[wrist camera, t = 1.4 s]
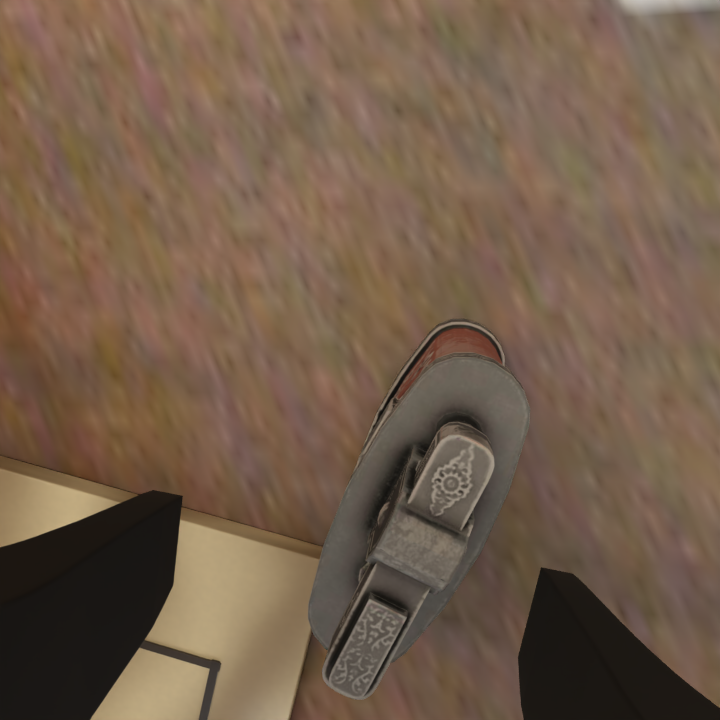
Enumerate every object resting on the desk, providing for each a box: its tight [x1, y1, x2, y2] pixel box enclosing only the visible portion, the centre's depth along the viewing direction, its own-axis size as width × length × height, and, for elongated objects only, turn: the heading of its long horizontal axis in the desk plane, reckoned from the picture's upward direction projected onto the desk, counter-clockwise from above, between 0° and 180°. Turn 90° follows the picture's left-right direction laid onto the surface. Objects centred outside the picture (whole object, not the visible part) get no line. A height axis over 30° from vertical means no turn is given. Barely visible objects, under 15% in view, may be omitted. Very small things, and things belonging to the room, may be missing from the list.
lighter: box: [308, 319, 530, 700], centre depth 18 cm, size 8×3×10 cm, turn 155°
